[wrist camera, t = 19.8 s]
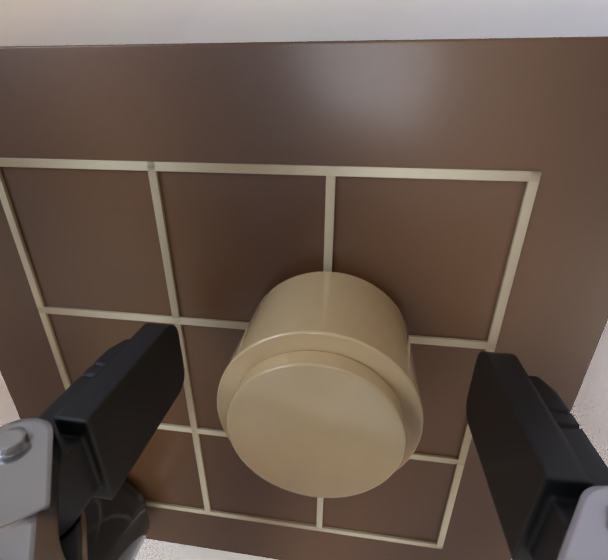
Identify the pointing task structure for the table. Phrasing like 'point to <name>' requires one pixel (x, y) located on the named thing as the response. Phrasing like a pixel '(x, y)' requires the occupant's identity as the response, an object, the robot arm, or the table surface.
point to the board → (306, 248)
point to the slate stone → (117, 525)
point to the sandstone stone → (323, 388)
